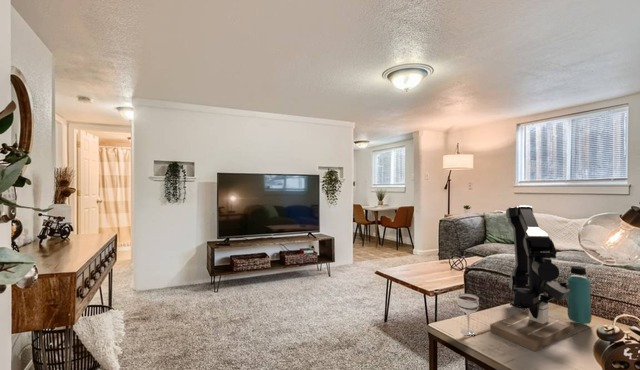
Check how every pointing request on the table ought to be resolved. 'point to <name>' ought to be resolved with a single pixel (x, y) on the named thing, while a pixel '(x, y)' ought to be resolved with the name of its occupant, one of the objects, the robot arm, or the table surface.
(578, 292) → the beverage bottle
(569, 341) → the table surface
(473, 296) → the wineglass
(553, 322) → the brown wooden board
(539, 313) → the fader knob
